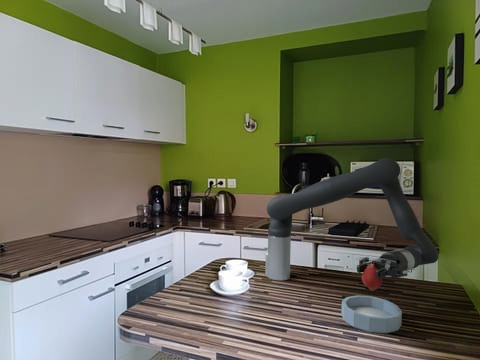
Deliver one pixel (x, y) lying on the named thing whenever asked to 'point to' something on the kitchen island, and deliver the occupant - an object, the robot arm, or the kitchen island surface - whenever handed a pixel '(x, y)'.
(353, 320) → the faceted shallow dish
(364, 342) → the kitchen island surface
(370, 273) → the onion
